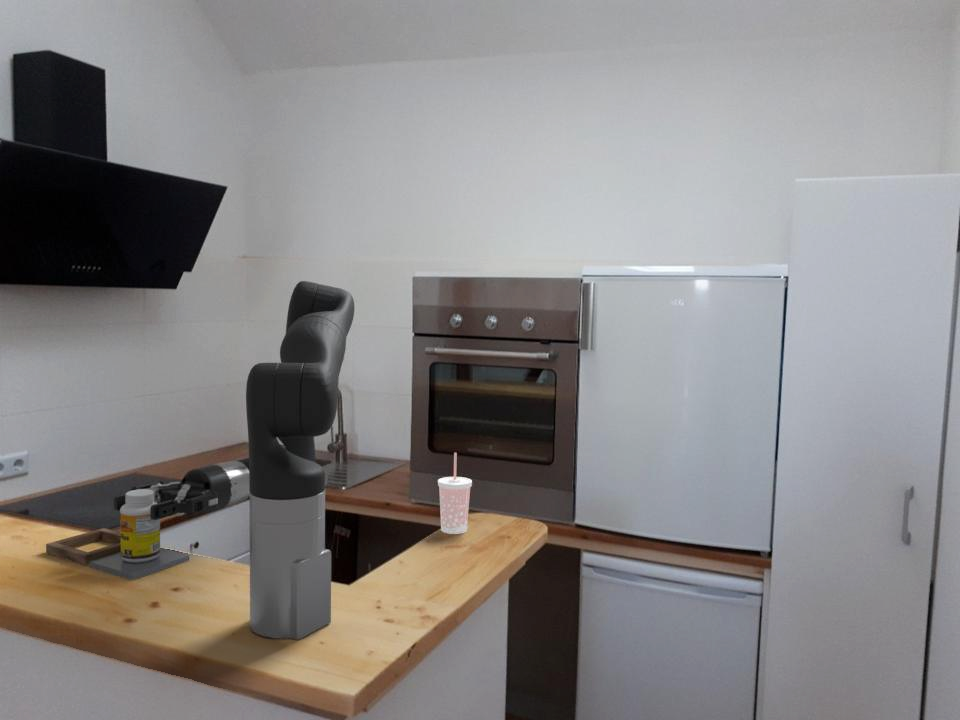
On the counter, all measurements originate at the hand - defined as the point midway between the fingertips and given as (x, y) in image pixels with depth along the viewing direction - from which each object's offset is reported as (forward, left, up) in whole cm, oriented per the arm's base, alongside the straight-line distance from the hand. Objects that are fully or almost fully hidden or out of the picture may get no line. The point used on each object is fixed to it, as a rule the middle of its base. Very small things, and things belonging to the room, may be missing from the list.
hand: (133, 508), depth 119 cm
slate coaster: (0, -1, -9) cm, 9 cm away
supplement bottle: (0, -1, -8) cm, 8 cm away
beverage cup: (-31, -42, -9) cm, 53 cm away
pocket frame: (+11, -1, -9) cm, 14 cm away
